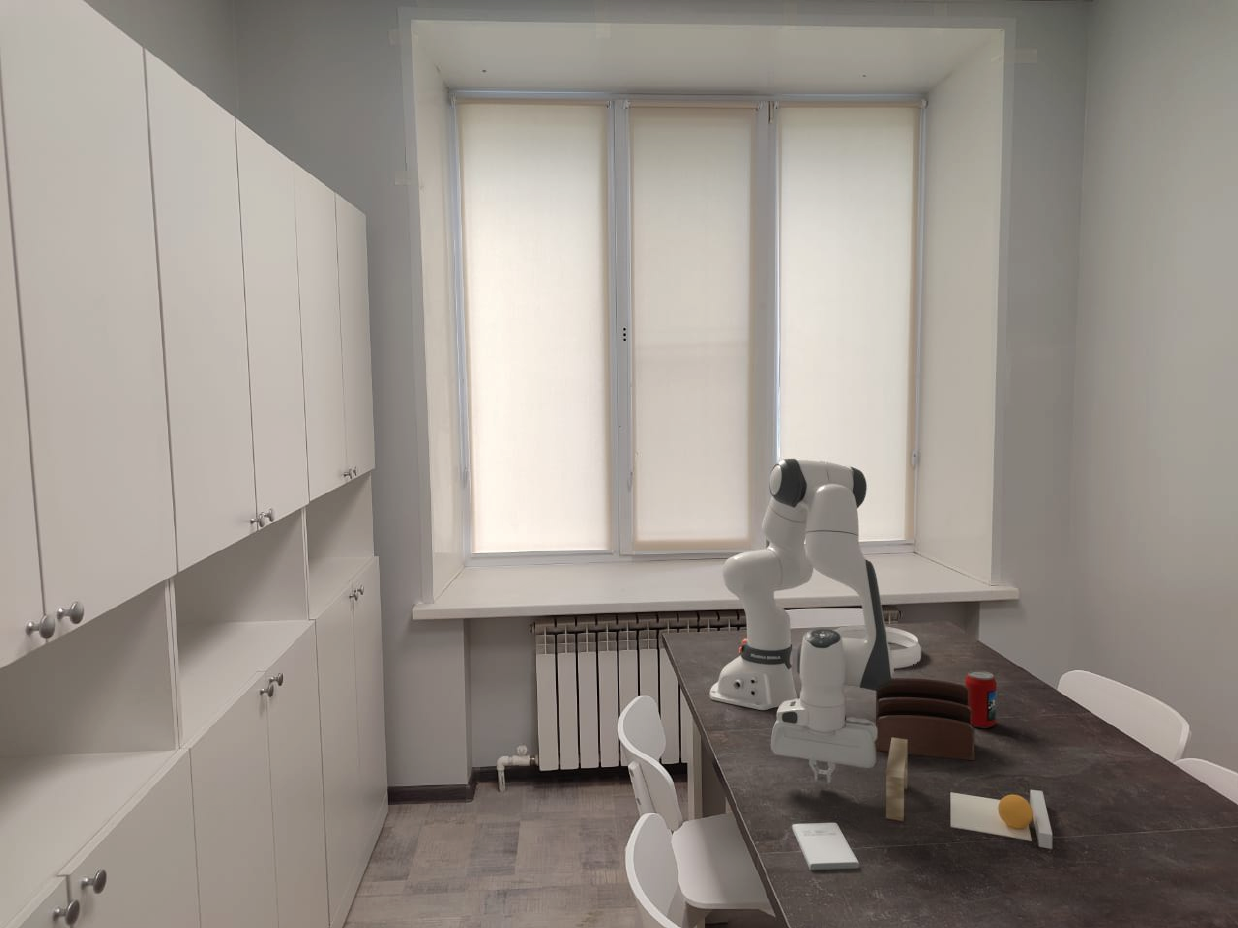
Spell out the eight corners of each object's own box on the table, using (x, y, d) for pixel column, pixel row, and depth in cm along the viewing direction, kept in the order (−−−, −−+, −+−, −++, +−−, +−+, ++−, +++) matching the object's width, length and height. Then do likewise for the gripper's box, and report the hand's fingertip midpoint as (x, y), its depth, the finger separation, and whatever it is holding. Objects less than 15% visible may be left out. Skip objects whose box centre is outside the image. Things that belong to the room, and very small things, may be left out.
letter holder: (875, 733, 183) (875, 673, 182) (968, 742, 177) (969, 681, 176) (876, 751, 173) (876, 689, 172) (974, 761, 168) (975, 697, 166)
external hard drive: (810, 872, 131) (792, 831, 143) (859, 871, 131) (837, 830, 143) (810, 863, 130) (792, 823, 143) (859, 861, 131) (837, 821, 143)
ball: (993, 821, 141) (1011, 799, 139) (990, 804, 146) (1008, 782, 144) (1023, 841, 140) (1041, 818, 138) (1019, 822, 145) (1037, 800, 143)
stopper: (1038, 846, 136) (1039, 832, 135) (1030, 801, 150) (1030, 789, 150) (1052, 848, 135) (1052, 834, 135) (1042, 803, 150) (1042, 791, 149)
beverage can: (999, 730, 182) (1000, 679, 181) (968, 728, 184) (968, 678, 183) (991, 718, 189) (992, 669, 188) (961, 717, 190) (962, 668, 189)
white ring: (813, 659, 235) (813, 641, 235) (844, 636, 257) (844, 619, 257) (906, 676, 220) (906, 656, 219) (930, 649, 242) (930, 632, 241)
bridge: (886, 817, 146) (886, 769, 145) (891, 781, 159) (891, 737, 159) (903, 820, 145) (903, 771, 144) (907, 784, 158) (907, 739, 157)
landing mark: (950, 826, 142) (950, 825, 142) (950, 793, 154) (950, 792, 154) (1031, 840, 137) (1031, 839, 137) (1024, 804, 149) (1025, 803, 149)
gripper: (879, 714, 155) (878, 781, 156) (775, 700, 163) (775, 765, 164) (876, 726, 149) (876, 796, 150) (768, 712, 157) (769, 779, 158)
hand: (822, 780), depth 157 cm, fingers closed
